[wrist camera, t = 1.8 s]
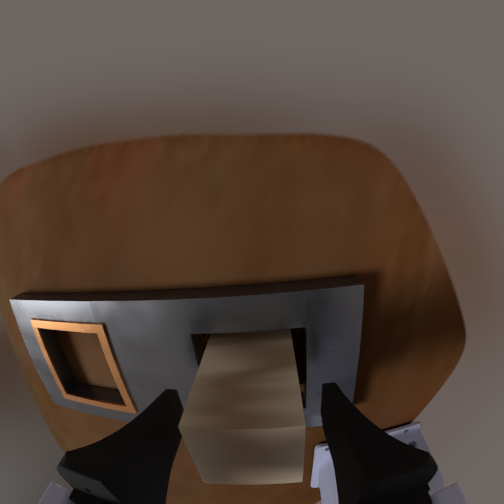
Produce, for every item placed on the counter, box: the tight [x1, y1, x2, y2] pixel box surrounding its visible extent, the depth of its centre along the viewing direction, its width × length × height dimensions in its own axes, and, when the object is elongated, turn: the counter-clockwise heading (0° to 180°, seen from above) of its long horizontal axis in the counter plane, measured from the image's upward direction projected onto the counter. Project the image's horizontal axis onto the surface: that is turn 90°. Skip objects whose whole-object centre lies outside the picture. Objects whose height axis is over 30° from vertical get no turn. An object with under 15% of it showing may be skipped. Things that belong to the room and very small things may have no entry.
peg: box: [178, 329, 306, 484], centre depth 12 cm, size 4×4×8 cm
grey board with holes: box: [10, 275, 364, 428], centre depth 15 cm, size 24×10×2 cm, turn 96°
